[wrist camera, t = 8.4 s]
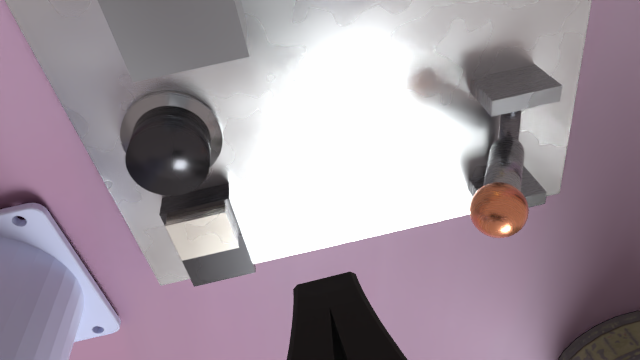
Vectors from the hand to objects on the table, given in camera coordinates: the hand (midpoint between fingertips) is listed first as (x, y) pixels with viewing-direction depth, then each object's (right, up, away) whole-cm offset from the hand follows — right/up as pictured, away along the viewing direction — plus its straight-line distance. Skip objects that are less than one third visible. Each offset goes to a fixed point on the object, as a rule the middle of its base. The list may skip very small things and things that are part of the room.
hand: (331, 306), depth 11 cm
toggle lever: (+7, +4, +7) cm, 11 cm away
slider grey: (-4, +9, +3) cm, 10 cm away
